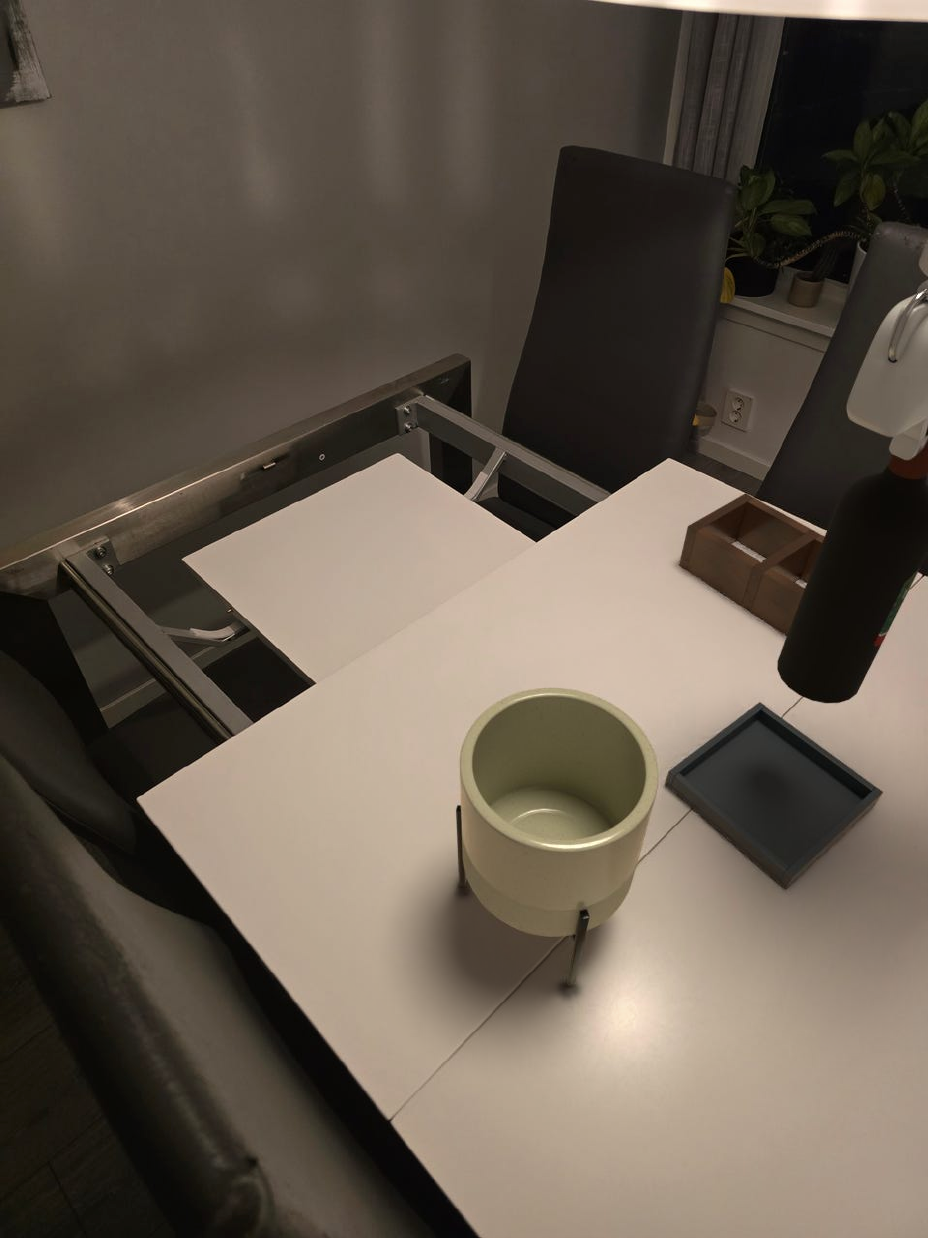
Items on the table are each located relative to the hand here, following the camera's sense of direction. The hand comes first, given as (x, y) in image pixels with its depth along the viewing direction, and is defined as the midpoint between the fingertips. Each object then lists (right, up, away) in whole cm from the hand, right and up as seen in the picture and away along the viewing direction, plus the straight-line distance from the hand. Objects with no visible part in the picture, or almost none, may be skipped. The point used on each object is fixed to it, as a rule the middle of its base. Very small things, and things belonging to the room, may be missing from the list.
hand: (919, 443), depth 57 cm
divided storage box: (+9, -9, +51) cm, 52 cm away
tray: (-1, -32, +27) cm, 42 cm away
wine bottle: (0, -18, +18) cm, 25 cm away
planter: (-26, -40, +19) cm, 51 cm away
